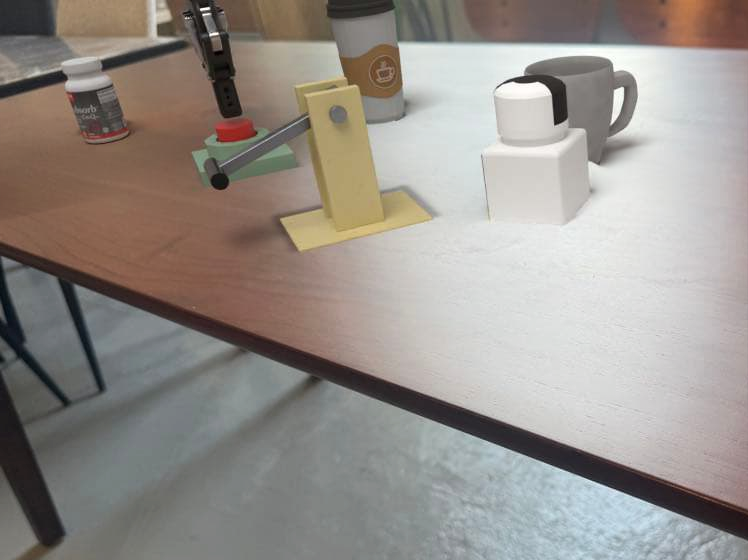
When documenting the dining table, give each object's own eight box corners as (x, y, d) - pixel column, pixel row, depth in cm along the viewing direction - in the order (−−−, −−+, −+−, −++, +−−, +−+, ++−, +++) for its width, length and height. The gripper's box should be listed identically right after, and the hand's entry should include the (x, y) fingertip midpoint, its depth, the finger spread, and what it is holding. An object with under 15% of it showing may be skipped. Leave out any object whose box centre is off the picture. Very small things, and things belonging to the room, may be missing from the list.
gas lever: (221, 198, 70) (203, 173, 69) (213, 182, 74) (196, 157, 73) (359, 118, 72) (344, 92, 70) (344, 106, 76) (330, 81, 74)
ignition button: (221, 147, 93) (217, 131, 92) (217, 138, 96) (212, 123, 95) (259, 139, 94) (254, 123, 93) (253, 131, 97) (248, 116, 96)
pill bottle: (75, 144, 114) (45, 66, 109) (106, 131, 118) (78, 55, 113) (109, 144, 112) (80, 65, 107) (139, 131, 117) (112, 54, 111)
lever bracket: (302, 263, 73) (262, 110, 66) (282, 230, 80) (244, 89, 73) (434, 230, 77) (410, 82, 70) (404, 201, 84) (379, 64, 77)
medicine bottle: (520, 202, 81) (506, 69, 75) (591, 206, 79) (583, 68, 72) (489, 231, 76) (471, 91, 69) (565, 236, 73) (554, 91, 67)
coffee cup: (366, 131, 107) (340, -1, 98) (338, 119, 113) (311, -6, 104) (424, 115, 111) (404, -13, 102) (394, 105, 116) (372, -17, 108)
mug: (555, 183, 85) (547, 81, 79) (518, 161, 91) (508, 66, 86) (659, 157, 88) (658, 58, 83) (616, 138, 95) (613, 45, 90)
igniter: (206, 192, 92) (194, 155, 90) (196, 170, 99) (186, 135, 97) (298, 172, 95) (289, 135, 93) (283, 152, 102) (274, 118, 100)
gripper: (137, -62, 88) (190, 110, 98) (145, -55, 78) (204, 137, 88) (211, -71, 91) (256, 97, 100) (229, -66, 80) (277, 122, 90)
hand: (232, 115), depth 94 cm, fingers closed
